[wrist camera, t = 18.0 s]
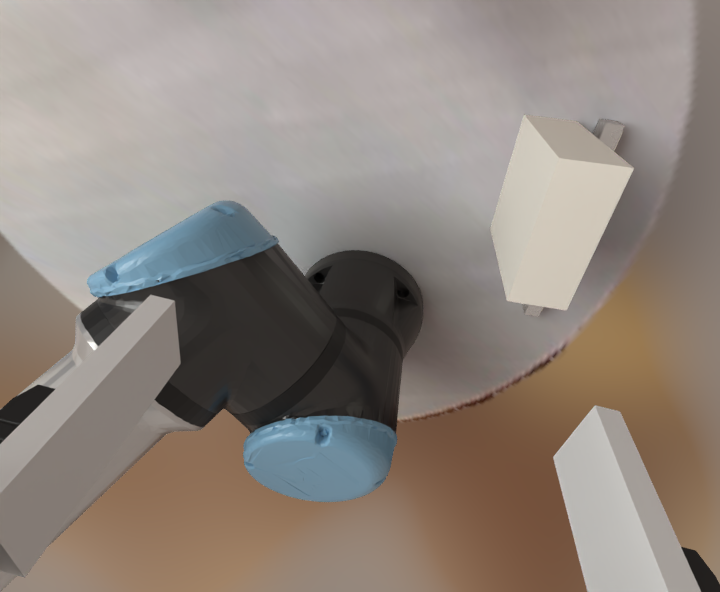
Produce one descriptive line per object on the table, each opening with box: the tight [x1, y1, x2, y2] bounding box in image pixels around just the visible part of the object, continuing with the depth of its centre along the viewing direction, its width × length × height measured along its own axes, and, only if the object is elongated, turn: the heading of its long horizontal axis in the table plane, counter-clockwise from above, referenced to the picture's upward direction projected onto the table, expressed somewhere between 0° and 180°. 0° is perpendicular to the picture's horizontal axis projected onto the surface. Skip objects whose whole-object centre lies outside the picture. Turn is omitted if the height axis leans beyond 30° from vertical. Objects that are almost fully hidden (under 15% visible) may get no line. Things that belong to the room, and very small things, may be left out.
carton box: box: [490, 115, 634, 310], centre depth 34 cm, size 5×11×13 cm, turn 175°
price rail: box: [522, 119, 625, 317], centre depth 40 cm, size 20×2×2 cm, turn 174°
